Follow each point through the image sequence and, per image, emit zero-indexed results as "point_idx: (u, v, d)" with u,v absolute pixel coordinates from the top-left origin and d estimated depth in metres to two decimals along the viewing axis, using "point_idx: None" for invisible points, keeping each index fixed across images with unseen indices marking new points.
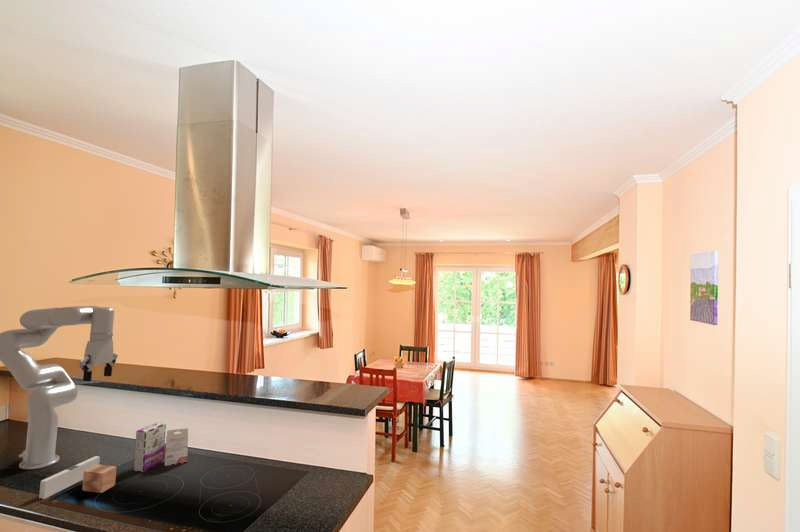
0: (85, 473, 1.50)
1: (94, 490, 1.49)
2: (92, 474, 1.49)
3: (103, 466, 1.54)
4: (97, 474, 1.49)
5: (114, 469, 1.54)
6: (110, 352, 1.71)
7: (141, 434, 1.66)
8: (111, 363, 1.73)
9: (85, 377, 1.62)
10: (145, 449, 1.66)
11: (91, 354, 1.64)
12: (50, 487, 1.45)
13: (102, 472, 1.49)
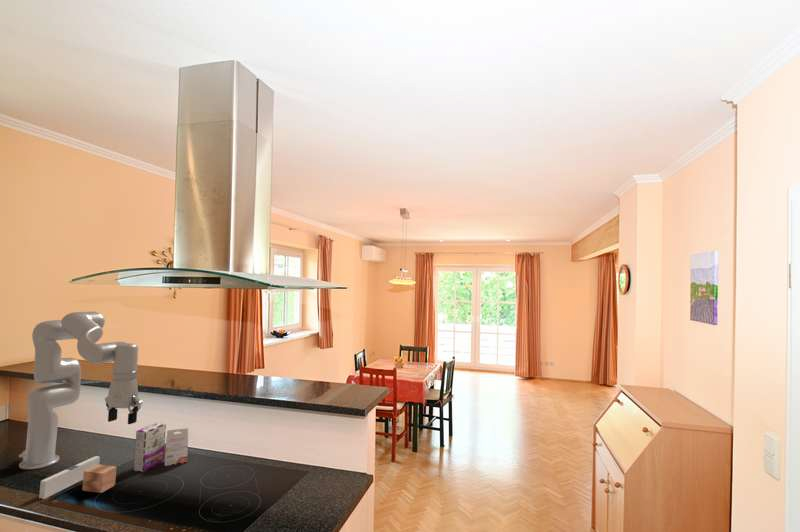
0: (85, 473, 1.50)
1: (94, 490, 1.49)
2: (92, 474, 1.49)
3: (103, 466, 1.54)
4: (97, 474, 1.49)
5: (114, 469, 1.54)
6: None
7: (141, 434, 1.66)
8: None
9: (134, 419, 1.53)
10: (145, 449, 1.66)
11: (136, 393, 1.55)
12: (50, 487, 1.45)
13: (102, 472, 1.49)
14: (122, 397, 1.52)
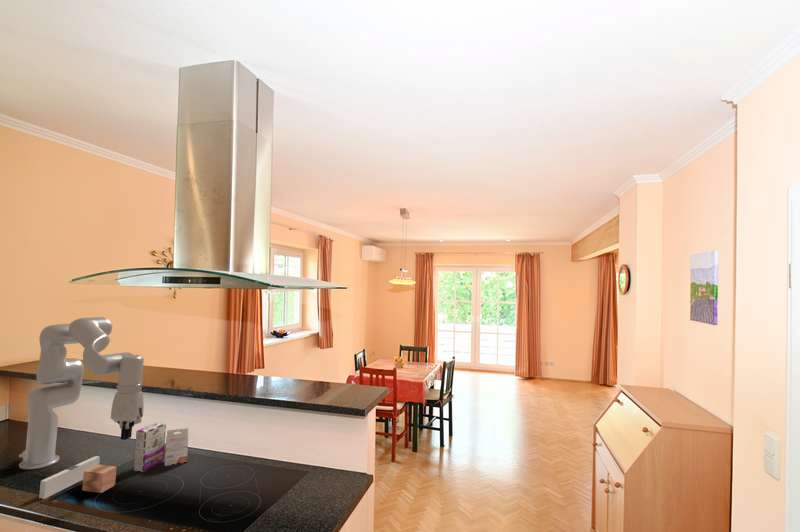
0: (85, 473, 1.50)
1: (94, 490, 1.49)
2: (92, 474, 1.49)
3: (103, 466, 1.54)
4: (97, 474, 1.49)
5: (114, 469, 1.54)
6: None
7: (141, 434, 1.66)
8: None
9: (130, 434, 1.51)
10: (145, 449, 1.66)
11: (142, 406, 1.52)
12: (50, 487, 1.45)
13: (102, 472, 1.49)
14: (128, 410, 1.49)
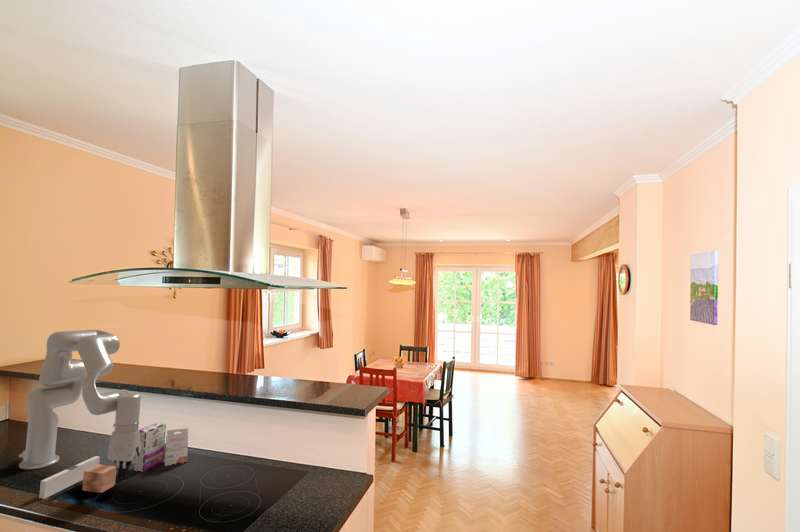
0: (85, 473, 1.50)
1: (94, 490, 1.49)
2: (92, 474, 1.49)
3: (103, 466, 1.54)
4: (97, 474, 1.49)
5: (114, 469, 1.54)
6: None
7: (141, 434, 1.66)
8: None
9: (126, 473, 1.51)
10: (145, 449, 1.66)
11: (139, 445, 1.52)
12: (50, 487, 1.45)
13: (102, 472, 1.49)
14: (125, 450, 1.48)
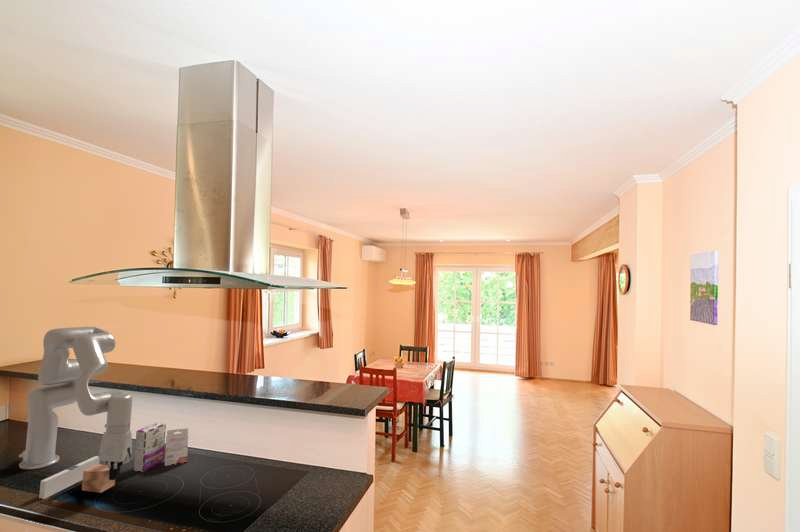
0: (85, 473, 1.50)
1: (94, 490, 1.49)
2: (92, 474, 1.49)
3: (103, 465, 1.54)
4: (97, 474, 1.49)
5: None
6: None
7: (141, 434, 1.66)
8: None
9: (118, 474, 1.51)
10: (145, 449, 1.66)
11: (130, 445, 1.52)
12: (50, 487, 1.45)
13: (102, 472, 1.49)
14: (116, 451, 1.49)
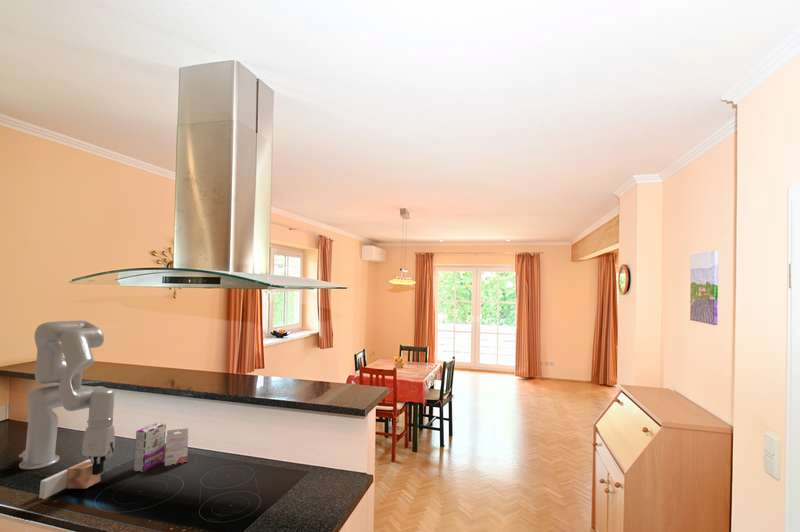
0: (69, 470, 1.51)
1: (78, 486, 1.49)
2: (75, 471, 1.50)
3: (87, 462, 1.55)
4: (80, 470, 1.50)
5: None
6: None
7: (141, 434, 1.66)
8: None
9: (101, 469, 1.52)
10: (145, 449, 1.66)
11: (113, 440, 1.53)
12: (50, 487, 1.45)
13: (85, 468, 1.50)
14: (99, 445, 1.50)
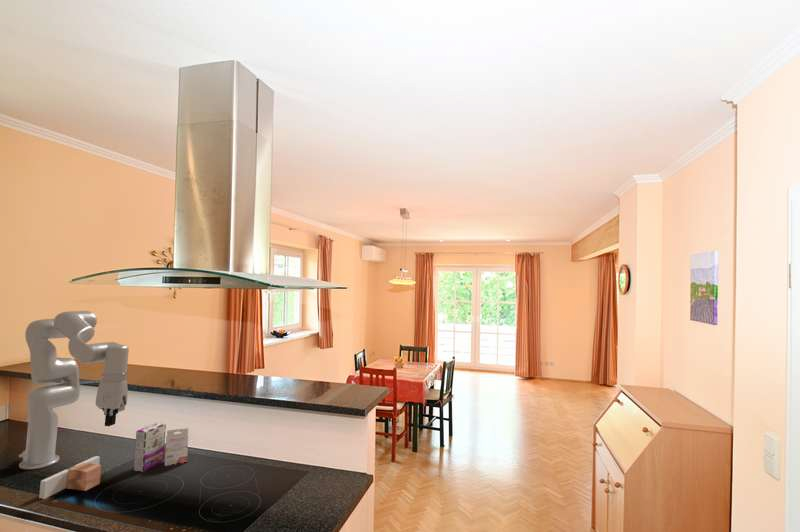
0: (70, 471, 1.51)
1: (78, 488, 1.50)
2: (76, 472, 1.50)
3: (88, 464, 1.55)
4: (81, 472, 1.50)
5: (99, 467, 1.54)
6: None
7: (141, 434, 1.66)
8: None
9: (113, 421, 1.56)
10: (145, 449, 1.66)
11: (126, 394, 1.57)
12: (50, 487, 1.45)
13: (86, 470, 1.50)
14: (112, 398, 1.54)
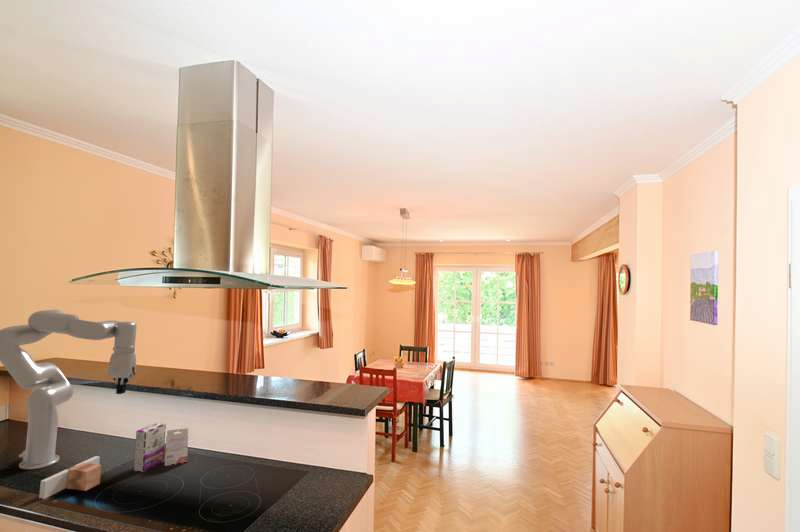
0: (70, 471, 1.51)
1: (78, 488, 1.50)
2: (76, 472, 1.50)
3: (88, 464, 1.55)
4: (81, 472, 1.50)
5: (99, 467, 1.54)
6: None
7: (141, 434, 1.66)
8: None
9: (124, 389, 1.75)
10: (145, 449, 1.66)
11: (134, 365, 1.76)
12: (50, 487, 1.45)
13: (86, 470, 1.50)
14: (123, 368, 1.72)
